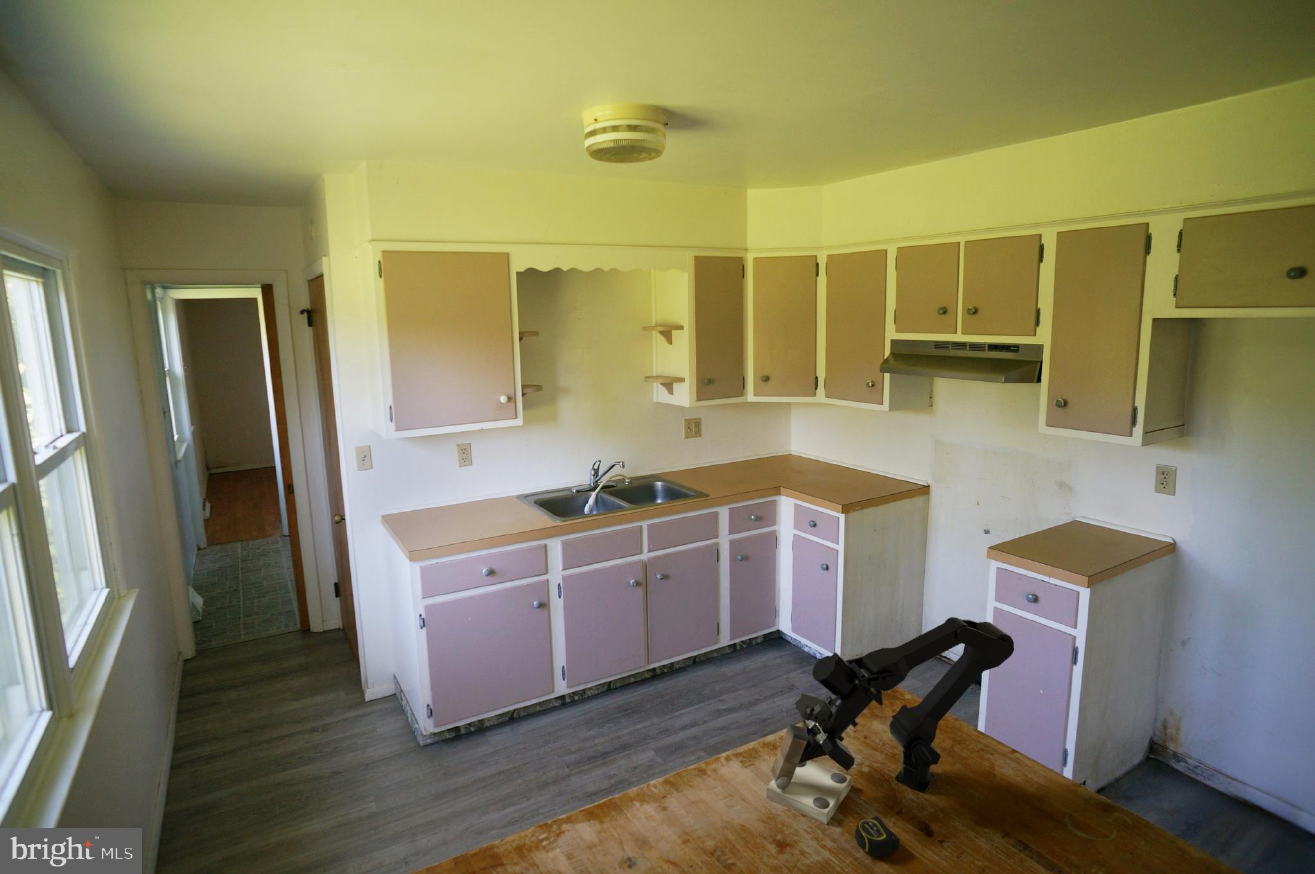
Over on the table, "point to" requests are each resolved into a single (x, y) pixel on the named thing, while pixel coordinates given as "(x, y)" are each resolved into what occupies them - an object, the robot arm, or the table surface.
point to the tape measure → (875, 837)
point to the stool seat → (812, 791)
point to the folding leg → (789, 755)
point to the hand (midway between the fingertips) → (796, 761)
